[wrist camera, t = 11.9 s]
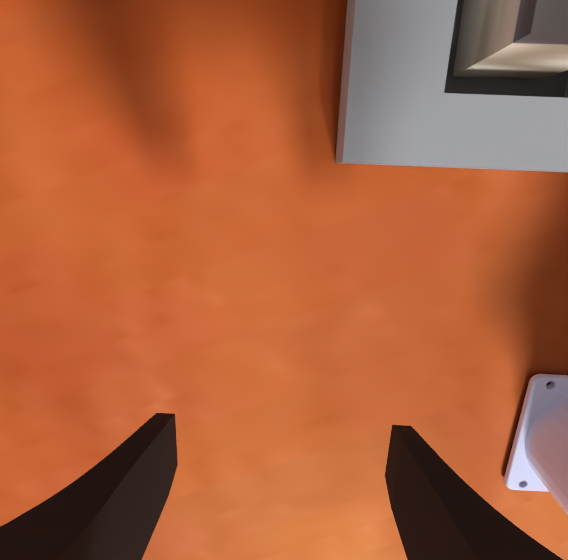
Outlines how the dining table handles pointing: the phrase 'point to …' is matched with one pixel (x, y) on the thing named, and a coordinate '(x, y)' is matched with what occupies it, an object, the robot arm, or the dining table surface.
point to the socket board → (439, 97)
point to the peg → (512, 39)
